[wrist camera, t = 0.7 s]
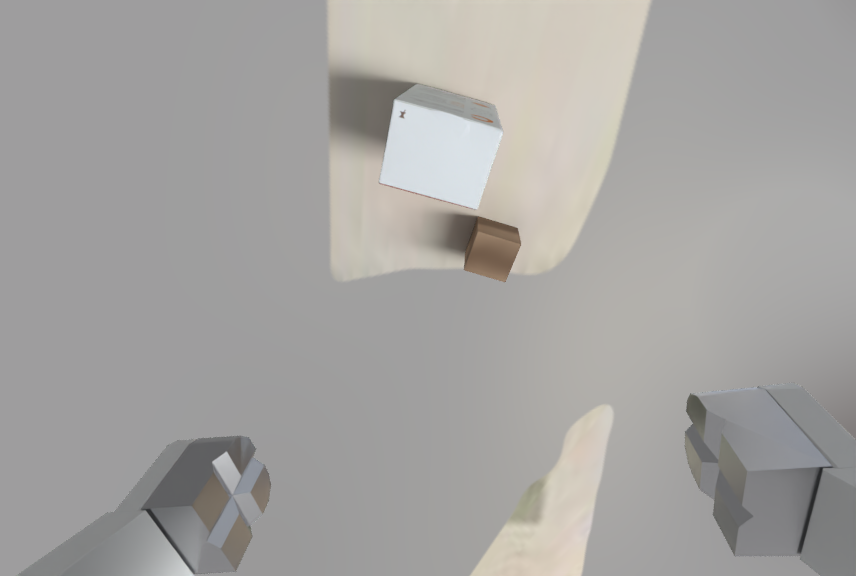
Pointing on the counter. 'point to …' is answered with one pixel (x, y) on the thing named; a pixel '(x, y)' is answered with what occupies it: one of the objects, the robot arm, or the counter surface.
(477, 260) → the walnut cube
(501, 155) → the counter surface
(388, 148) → the small box
